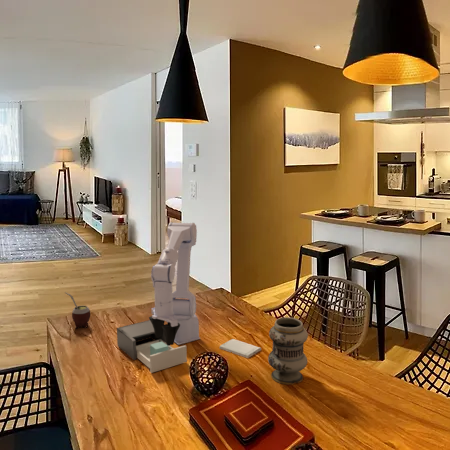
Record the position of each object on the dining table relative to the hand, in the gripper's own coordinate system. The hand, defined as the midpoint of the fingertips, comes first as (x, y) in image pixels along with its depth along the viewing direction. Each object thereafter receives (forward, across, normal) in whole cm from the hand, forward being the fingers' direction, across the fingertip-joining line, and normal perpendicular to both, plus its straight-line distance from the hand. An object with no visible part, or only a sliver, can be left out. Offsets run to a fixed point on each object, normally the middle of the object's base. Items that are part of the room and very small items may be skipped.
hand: (164, 340), depth 145 cm
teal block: (+8, -4, 0) cm, 9 cm away
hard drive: (+9, +5, +28) cm, 29 cm away
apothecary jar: (+9, +29, +27) cm, 41 cm away
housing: (+8, -17, 0) cm, 19 cm away
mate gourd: (+9, -50, -12) cm, 52 cm away
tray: (+8, -6, 0) cm, 10 cm away
